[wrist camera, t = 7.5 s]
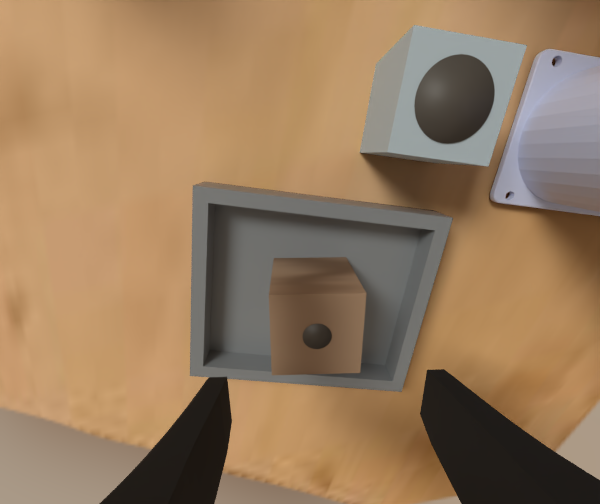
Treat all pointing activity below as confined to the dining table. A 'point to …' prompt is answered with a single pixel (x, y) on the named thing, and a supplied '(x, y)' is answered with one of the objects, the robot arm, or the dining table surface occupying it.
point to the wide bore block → (441, 97)
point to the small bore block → (315, 316)
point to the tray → (306, 244)
